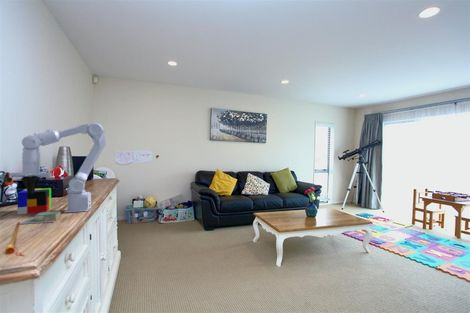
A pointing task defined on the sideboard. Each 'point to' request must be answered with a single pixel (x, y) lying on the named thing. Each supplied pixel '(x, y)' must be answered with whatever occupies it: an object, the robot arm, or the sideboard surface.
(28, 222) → the mat
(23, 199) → the puzzle toy
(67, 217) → the sideboard surface
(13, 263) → the sideboard surface
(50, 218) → the tile
